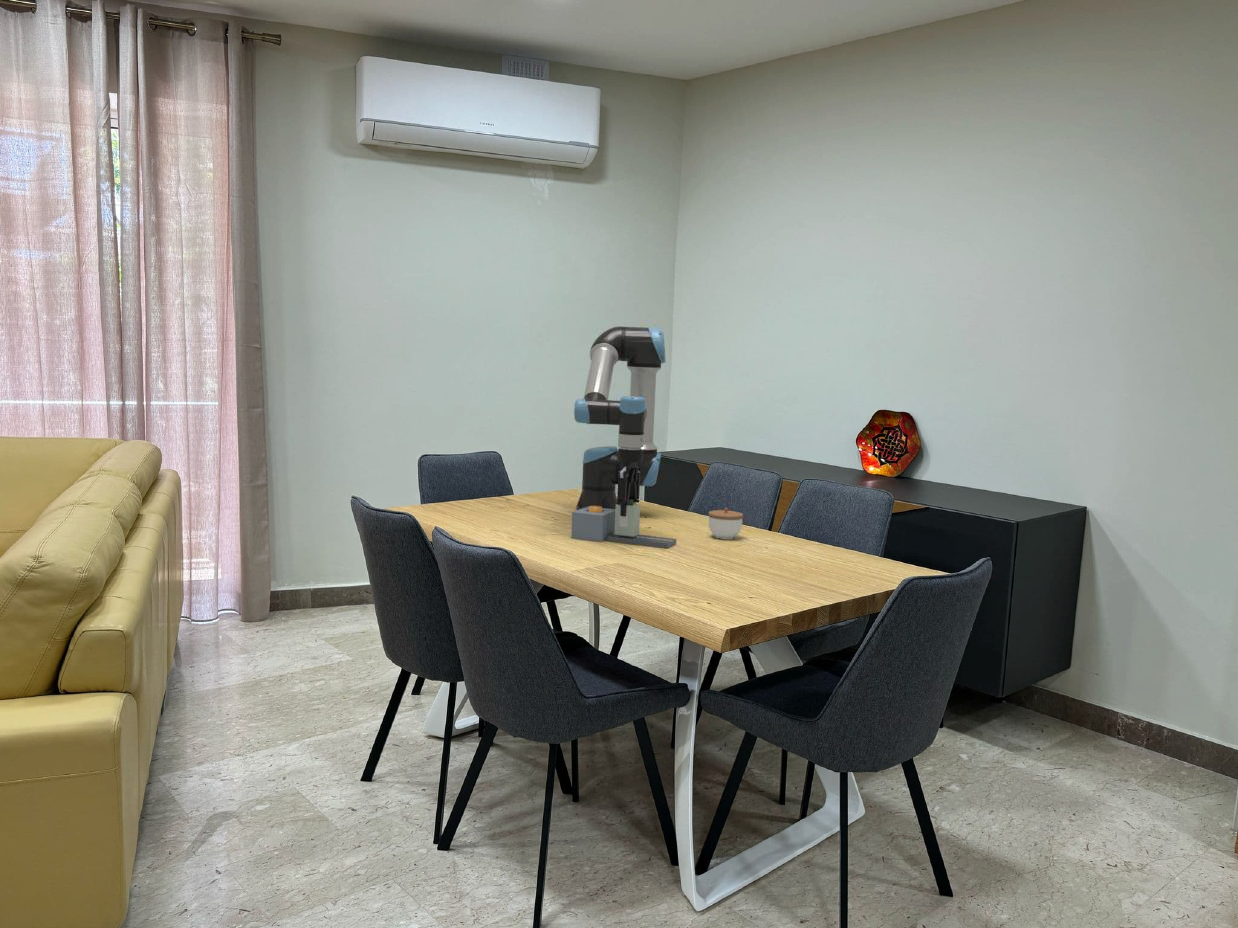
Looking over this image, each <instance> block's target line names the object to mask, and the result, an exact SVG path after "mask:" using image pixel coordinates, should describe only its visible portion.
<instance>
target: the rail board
mask: <svg viewBox="0 0 1238 928" xmlns="http://www.w3.org/2000/svg"><path fill="white" fill-rule="evenodd" d="M607 542H610V543H619V544H626V543H628V545H635V546H642V545H643V546H644V547H650V546H652V547H653V548H660V549H667V550H668V549H669V548H671V547H673V546H675V545H676V544H677V538H673V537H672V538H671V537H663V536H657V535H646V534H640V533H639V534H638V535H636V536H633V537H632V536H624V535H616V534H614V533H613V534H612V535H609V536H608V539H607ZM643 546H642V547H643Z"/></svg>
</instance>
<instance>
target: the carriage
mask: <svg viewBox="0 0 1238 928" xmlns="http://www.w3.org/2000/svg"><path fill="white" fill-rule="evenodd" d="M628 505H629V525H628V527H619V516H620V505H617V504H616V510H615V533H614V534H616V535H624V536H632V537H633V536H636V535H638V534H640V522H641V521H640V517H641V504H639V503H638V504H637V503H636V504H633V499H629V501H628Z"/></svg>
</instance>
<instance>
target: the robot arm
mask: <svg viewBox="0 0 1238 928" xmlns="http://www.w3.org/2000/svg"><path fill="white" fill-rule="evenodd" d="M589 359H590V361H591V362H590V367H589V370H588V375H587V380H586V385H585V390H584V394H583V398H578V399H576V400H575V403H574V411H573V412H574V413H573V414H574V415H573V416H574V421H575V423H578V424H587V425H607V426H608V425H609V426H612V425H613V426H618V435H617V436H618V440H617V446H618V447H619V448H618V447H617V446H611V445H610V446H597V447H591V448H587V449H585V450H584V452H583V459H582V482H581V486H582V487H581V493H580V496H579V498H578V501H577V504H576V506H575V507H576V510H579V509H582V508H585V507H588V506H601V507H602V508H607V509H616V504H617V505H620V516H619V527H628V525H629V505H628V501H629V499H633V504H637V503H638V504H639V503H640V500H639V499H640V489H641V488H640V487H652V486H654V485H656V483H657V478H658V474H659V468H660V463H661V458H662V454H661V452H658V447H657V446H656V445H655V444H654V429H655V428H654V427H655V410H656V409H655V407H656V406H655V405H656V389H657V387H656V384H657V373H658V372H659V371H660V370H661V368H662V364H666V346H665V337H664V332H663V330H662V329H660V328H658V327H657V328H656V327H641V326H639V327H636V326H613V327H612V328H608V329H607V330H605V331H603V332H602V333H601V334H599V336H597V338H596V339H595V340H594V341H593V343H592V344H591V347H590V351H589ZM617 362H626V368H627V369H628V370H629V371H630V387H629V388H630V390H629V391H630V392H629V395H624V396H621V398H620V400H614V399H613V400H611V399H609V396H610V395H609V394H610V391H611V390H610V389H611V385H612V384H611V383H612V378H613V372H614V367H615V365H616V364H617ZM616 485H617V493H616ZM576 510H575V511H576Z"/></svg>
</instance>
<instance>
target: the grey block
mask: <svg viewBox="0 0 1238 928" xmlns="http://www.w3.org/2000/svg"><path fill="white" fill-rule="evenodd" d="M615 510H616V509H607V508H602V512H601V513H596V512H589V506H588V507H585V508H582V509H579V510H574V511H572V512H571V530H570V532H571V533H570V534H571V535H570V538H571V539H574V538H576V539H575V540H582V541H583V540H585V541H590V542H599V543H602V542H603V543H604V542H605V541H606V540H607V539H608V536H609V535H612V534H613V533H615Z"/></svg>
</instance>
